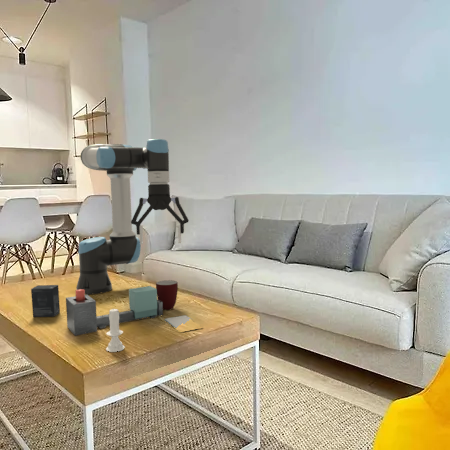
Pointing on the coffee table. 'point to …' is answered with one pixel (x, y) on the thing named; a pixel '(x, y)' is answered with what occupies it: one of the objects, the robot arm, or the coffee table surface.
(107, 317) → the rail
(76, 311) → the gray button box
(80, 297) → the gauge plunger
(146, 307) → the block
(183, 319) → the smartphone
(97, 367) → the coffee table surface
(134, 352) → the coffee table surface
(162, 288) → the mug
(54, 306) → the box
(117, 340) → the candle
